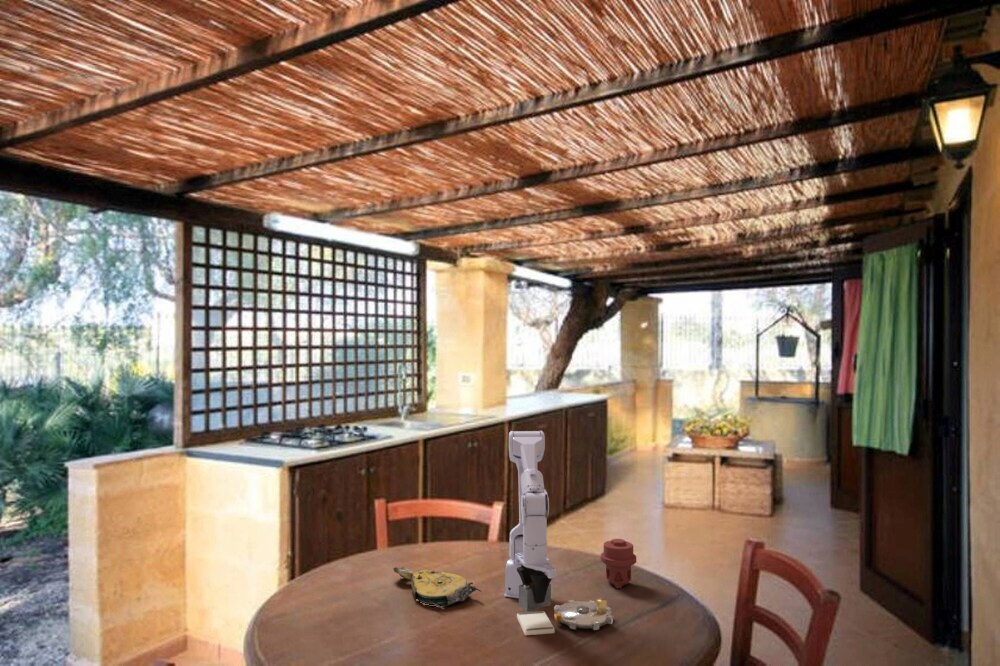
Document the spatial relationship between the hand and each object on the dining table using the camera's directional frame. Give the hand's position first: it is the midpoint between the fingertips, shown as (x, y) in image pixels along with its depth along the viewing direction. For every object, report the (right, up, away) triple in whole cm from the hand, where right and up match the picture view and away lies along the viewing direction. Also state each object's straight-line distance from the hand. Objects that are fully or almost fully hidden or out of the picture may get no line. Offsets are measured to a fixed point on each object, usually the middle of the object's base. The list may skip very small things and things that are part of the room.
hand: (535, 599), depth 152 cm
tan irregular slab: (-28, -7, +22) cm, 36 cm away
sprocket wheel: (+12, -6, +2) cm, 13 cm away
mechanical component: (+25, -7, +27) cm, 37 cm away
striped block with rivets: (0, -1, 0) cm, 1 cm away
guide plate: (0, -6, 0) cm, 6 cm away
